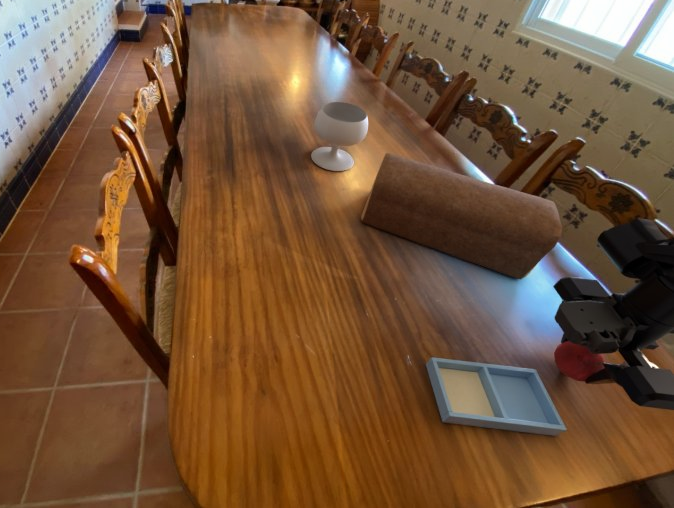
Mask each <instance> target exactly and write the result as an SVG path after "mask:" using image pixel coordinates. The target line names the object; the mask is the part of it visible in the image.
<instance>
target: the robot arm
mask: <svg viewBox="0 0 674 508" xmlns="http://www.w3.org/2000/svg"><path fill="white" fill-rule="evenodd" d="M596 242H597V244H598V246H599V247H600V249H601V250H602V252H604V254H605V255H606V256H607V258H608V259H609V260H610V261H611V263H612V264H613V265H614V266H615V267H616V269H617V270H618V271H619V272H620V274H621V275H622V276H624V277H626V278H628V279H636V280H639V281H637V283H636V284H633V286H632V287H631V288H629V289H628V290H626V292H624V293H616V292H615V293H612V294H611V295H610V294H609V293H608V292H607V290H606V289H605V288H604V286H603V285H602V284H601V283H600V282H599V280H598V279H592V278H583V277H576V276H575V277H574V276H563V277H561V278H560V279H559V280H557V281H556V282H555V283H554V285H553V289H554V290H555V292H557V294H558V296H559V297H560V299H561V303H559V306H558V307H557V310H556V313H555V315H554V316H553V317H554V321H555V323H556V324H558V326H559V328H560V329H561V330H562V332H563V334H562V336H561V340H560V344H561V343H564V342H566V341H570V342H571V343H573V344H577V345H580V346H585V347H587V348H588V350H589V351H590V352H591V353H593V354H602V355H603V354H613V353H616V352H618V353H619V354H620V355H621V356H622V358H623V360H624V361H623V362H621V363H620V364H618V363H609V362H605V363H603V366H604V369H602V370H600V371H598V372H596V373H595V374H593V375H591V376H589V377H588V378H587V379H586V380H585V381H584V382H585V384H586V385H604V384H616V385H618V386H620V387H621V388H622V389H623V390H624V392H625V394H626V395H627V396H628V398H629V399H630V401H631V402H633V403H634V404H635V405H637V406H638V407H643V408H650V409H651V408H652V409H660V410H668V411H674V373H673V371H672V370H671V369H669V368H660V367H659V366H658V365H657V364H655V363H654V362H651V361H649V359H648V358H647V356H645V354H644V353H643V351H642V350H650V351H653V350H654V351H655V350H656V349H657V348H659V347H660V345H659V344H658V343H657V341H658V340H660V339H662V338H663V337H664V336H666V335H668V334H674V237H673V238H668V237H667V236H666V235H665V233H663V232H662V231H661V230H660V228H659V226H658V225H657V224H656V223H655V222H654V221H653V220H651V219H646V218H638V217H635V218H634V219H632V221H630V222H628V223H621V224H618V225H615V226H613V227H610V228H608V229H605V230H603V231H602V232H601V233H600V234H599V235H598V237H597V241H596Z"/></svg>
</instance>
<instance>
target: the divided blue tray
mask: <svg viewBox="0 0 674 508" xmlns="http://www.w3.org/2000/svg"><path fill="white" fill-rule="evenodd" d="M425 367H426V371H427V374H428V378H429V381H430V384H431V387H432V391H433V394H434V398H435V401H436V405H437V409H438V411H439V414H440V415H439V416H440V418H441V421H442V423H446V424H455V425H462V426H470V427H479V428H488V429H494V430H495V429H496V430H504V431H511V432H520V433H528V434H535V435H545V436H553V437H558V436H559V435H561V434H563V433H564V432H566V431H568V429H567V427H566V425H565V423H564V421H563V420H562V417H561V416H560V414H559V412H558V410H557V408H556V406H555V404H554V401H553V400H552V399H551V396H550V395H549V393H548V391H547V389H546V387H545V385H544V383H543V381H542V379H541V377H540V375H539V374H538V371H537V370H536V369H534V368H527V367H526V368H525V367H517V366H508V365H501V364H494V363H493V364H492V363H484V362H476V361H475V362H474V361H466V360H460V359H459V360H458V359H451V358H450V359H449V358H441V357H434V356H432V357H430V359H429V360H428V361H427V362H426V364H425Z"/></svg>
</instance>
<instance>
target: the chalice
mask: <svg viewBox="0 0 674 508" xmlns="http://www.w3.org/2000/svg"><path fill="white" fill-rule="evenodd" d="M313 125H314V132H315V133H316V134H317V136H318V137H319V138H320V139H321V140H322V141H324V142H326V143H327V144H330V146H322V147H318V148H315V149H314V150H313V151H312V152H311V155H310V158H311V160H312V162H314V164H315V165H317V166H318V167H320V168H322V169H325V170H328V171H332V172H344V171H348V170H350V169H351V168H353V166H354V163H355V161H354V158H353V156H352V155H350V154H349V153H348V152H347V151H345V150H343V149H340V148H342V147H352V146H355V145H358V144H359V143H361V142H362V141H364V139H365V138H366V137H367V134H368V130H369V118H368V114H367V112H366V110H364V108H361V107H360V106H358V105H355V104H352V103H350V102H349V103H348V102H344V101H333V102H328V103H326V104H324V105H323V106H322V107H321V108H320V109H319V110H318V113H317V115H316V116H315V120H314V124H313Z"/></svg>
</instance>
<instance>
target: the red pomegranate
mask: <svg viewBox="0 0 674 508" xmlns="http://www.w3.org/2000/svg"><path fill="white" fill-rule="evenodd" d="M553 357H554V359H553V360H554V362H555V365H556V367H557V369H558V370H559V372H561V373H562V374H563V375H565V376H566V377H568V378H570V379H572V380H574V381H577V382H585V380H586V379H587V378H588V377H589V376H591V375H593V374H595V373H596V372H598V371H600V370H602V369H604V366H603V363H606V362H605V358H604V356H603V354H593V353H591V352H590V351H589V350H588V348H587V347H585V346H580V345H577V344H573V343H571V342H570V341H566V342H564V343H561V342H560V343H559V344H558V345H557V346H556V348H555V349H554V351H553Z"/></svg>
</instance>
